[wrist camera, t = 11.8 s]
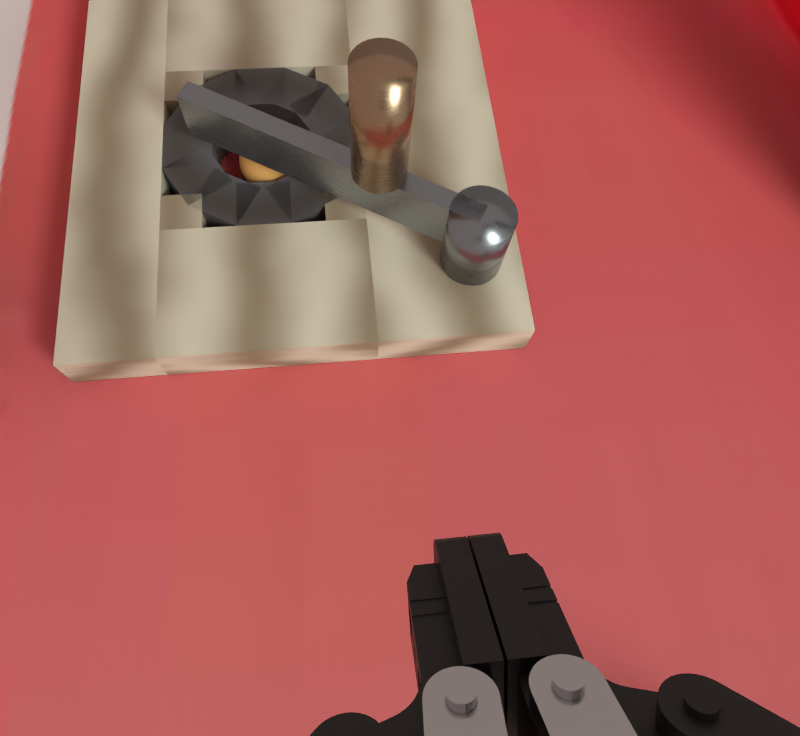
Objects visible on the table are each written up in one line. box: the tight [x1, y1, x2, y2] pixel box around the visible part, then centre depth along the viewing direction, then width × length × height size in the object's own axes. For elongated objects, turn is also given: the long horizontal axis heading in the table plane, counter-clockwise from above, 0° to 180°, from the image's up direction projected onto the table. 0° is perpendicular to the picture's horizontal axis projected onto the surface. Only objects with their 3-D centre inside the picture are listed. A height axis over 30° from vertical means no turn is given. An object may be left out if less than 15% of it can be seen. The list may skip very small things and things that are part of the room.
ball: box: [239, 156, 287, 183], centre depth 40 cm, size 4×4×4 cm
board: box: [53, 0, 535, 382], centre depth 41 cm, size 26×28×2 cm
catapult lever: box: [176, 38, 518, 286], centre depth 33 cm, size 20×4×11 cm, turn 65°
